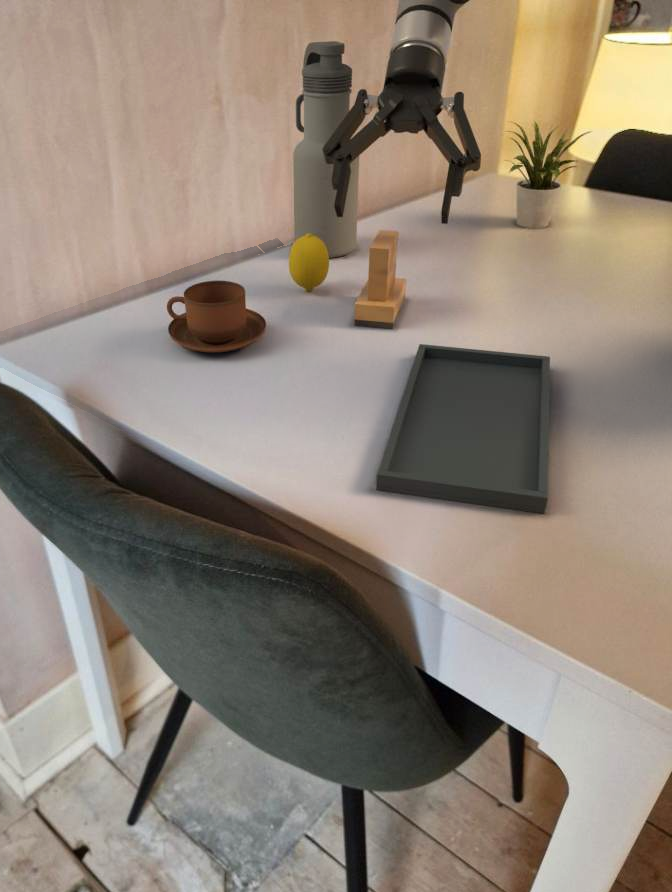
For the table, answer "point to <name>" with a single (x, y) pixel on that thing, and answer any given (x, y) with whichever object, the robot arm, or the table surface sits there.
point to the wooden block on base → (381, 285)
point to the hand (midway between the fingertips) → (390, 215)
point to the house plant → (539, 179)
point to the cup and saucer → (215, 318)
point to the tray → (472, 429)
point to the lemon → (308, 262)
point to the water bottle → (311, 173)
